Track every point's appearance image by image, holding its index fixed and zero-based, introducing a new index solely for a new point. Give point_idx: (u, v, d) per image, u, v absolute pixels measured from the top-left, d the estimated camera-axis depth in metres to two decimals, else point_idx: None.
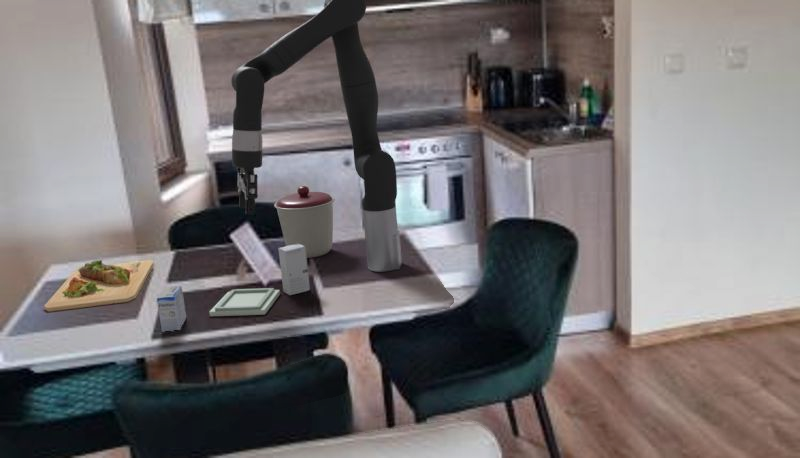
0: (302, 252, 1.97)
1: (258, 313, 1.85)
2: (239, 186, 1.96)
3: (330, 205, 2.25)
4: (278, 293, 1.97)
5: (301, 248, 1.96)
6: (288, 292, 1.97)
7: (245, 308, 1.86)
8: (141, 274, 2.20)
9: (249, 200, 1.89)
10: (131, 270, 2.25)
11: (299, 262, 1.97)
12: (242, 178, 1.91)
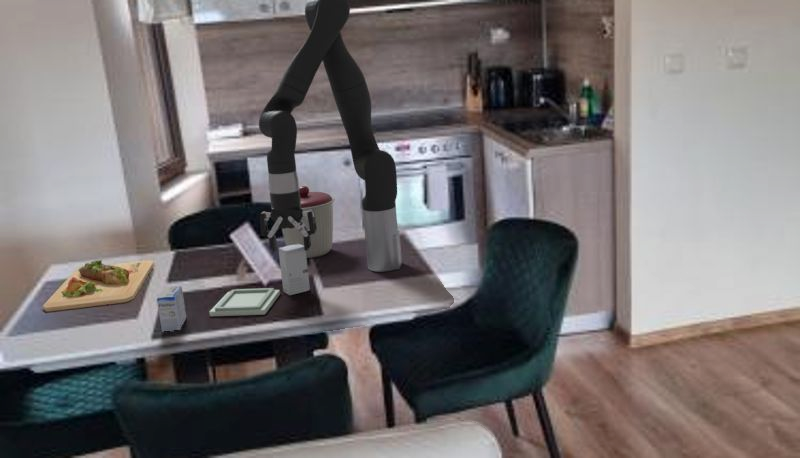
0: (302, 252, 1.97)
1: (258, 313, 1.85)
2: (276, 230, 1.94)
3: (330, 205, 2.25)
4: (278, 293, 1.97)
5: (301, 248, 1.96)
6: (288, 292, 1.97)
7: (245, 308, 1.86)
8: (140, 275, 2.20)
9: (309, 236, 1.95)
10: (130, 270, 2.25)
11: (299, 262, 1.97)
12: (294, 218, 1.93)
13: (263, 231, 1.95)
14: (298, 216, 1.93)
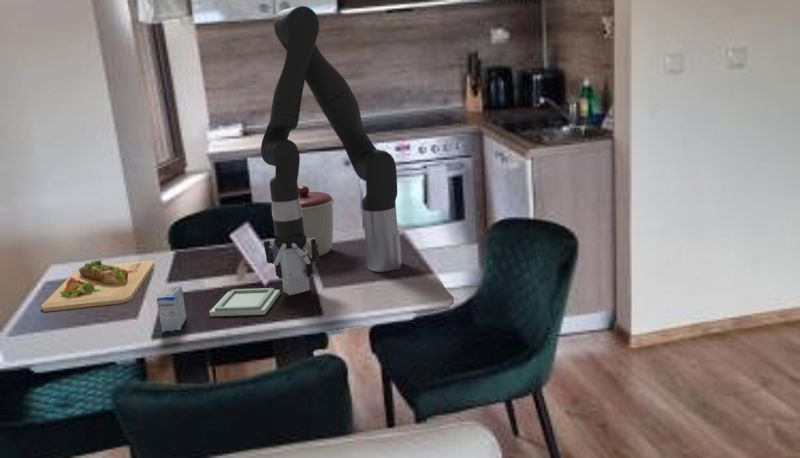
0: None
1: (258, 313, 1.85)
2: None
3: (330, 205, 2.25)
4: (278, 293, 1.97)
5: None
6: (288, 292, 1.97)
7: (245, 308, 1.86)
8: (139, 275, 2.19)
9: (311, 263, 1.97)
10: (130, 270, 2.25)
11: (299, 262, 1.97)
12: (297, 245, 1.95)
13: (269, 259, 1.97)
14: (302, 243, 1.95)
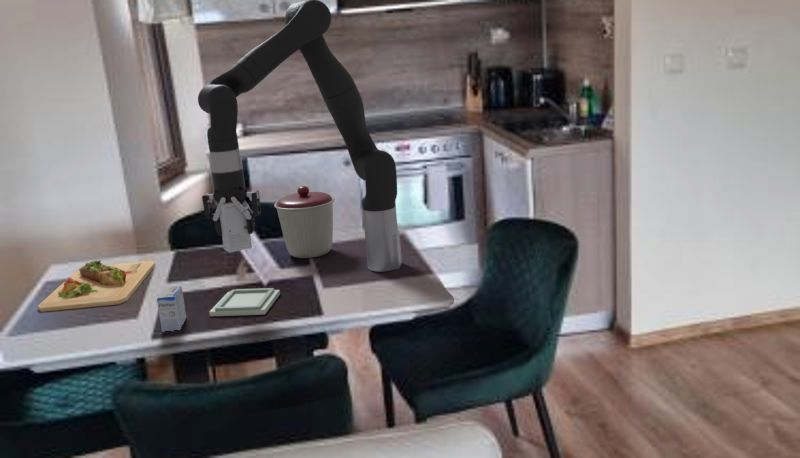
0: None
1: (258, 313, 1.85)
2: (220, 212, 1.85)
3: (330, 205, 2.25)
4: (278, 293, 1.97)
5: None
6: (228, 249, 1.86)
7: (245, 308, 1.86)
8: (138, 276, 2.19)
9: (253, 218, 1.86)
10: (130, 270, 2.24)
11: (240, 217, 1.85)
12: (237, 199, 1.84)
13: (208, 214, 1.86)
14: (242, 196, 1.84)
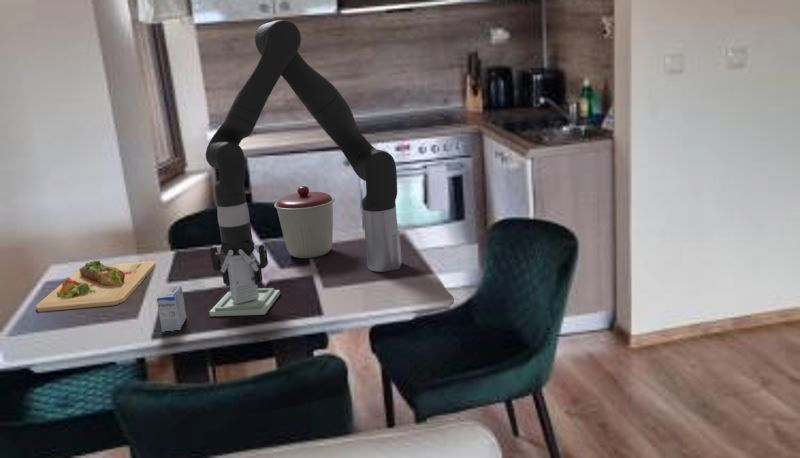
0: None
1: (258, 313, 1.85)
2: None
3: (330, 205, 2.25)
4: (278, 293, 1.97)
5: None
6: (236, 300, 1.89)
7: (245, 308, 1.86)
8: (137, 276, 2.18)
9: (260, 270, 1.89)
10: (129, 271, 2.24)
11: (247, 269, 1.89)
12: (244, 252, 1.87)
13: (216, 266, 1.89)
14: (249, 249, 1.87)
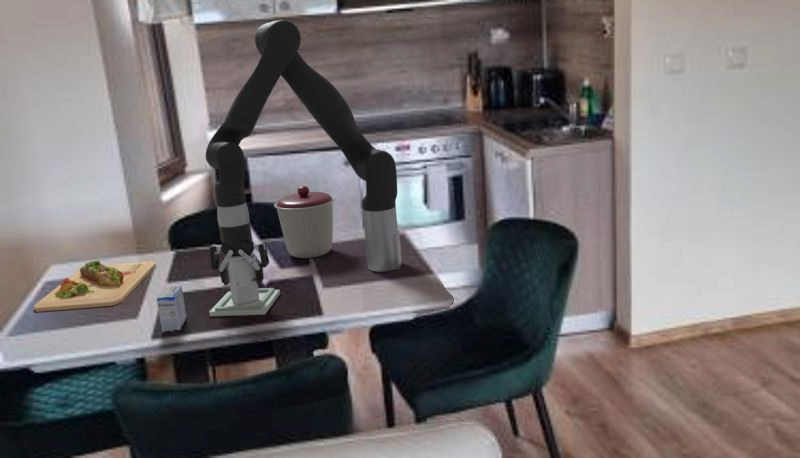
0: None
1: (258, 313, 1.85)
2: (227, 263, 1.89)
3: (330, 205, 2.25)
4: (278, 293, 1.97)
5: None
6: (236, 302, 1.90)
7: (245, 308, 1.86)
8: (136, 277, 2.18)
9: (261, 269, 1.89)
10: (129, 271, 2.24)
11: (248, 270, 1.89)
12: (244, 251, 1.87)
13: (214, 265, 1.89)
14: (249, 249, 1.87)
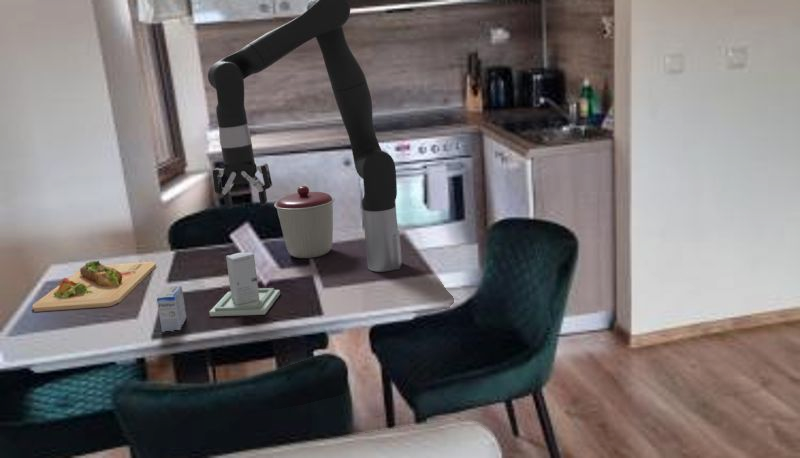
0: (251, 260, 1.89)
1: (258, 313, 1.85)
2: (230, 186, 1.90)
3: (330, 205, 2.25)
4: (278, 293, 1.97)
5: (249, 256, 1.89)
6: (236, 302, 1.90)
7: (245, 308, 1.86)
8: (135, 277, 2.18)
9: (264, 191, 1.91)
10: (129, 271, 2.23)
11: (248, 270, 1.89)
12: (247, 173, 1.89)
13: (217, 188, 1.91)
14: (252, 171, 1.89)
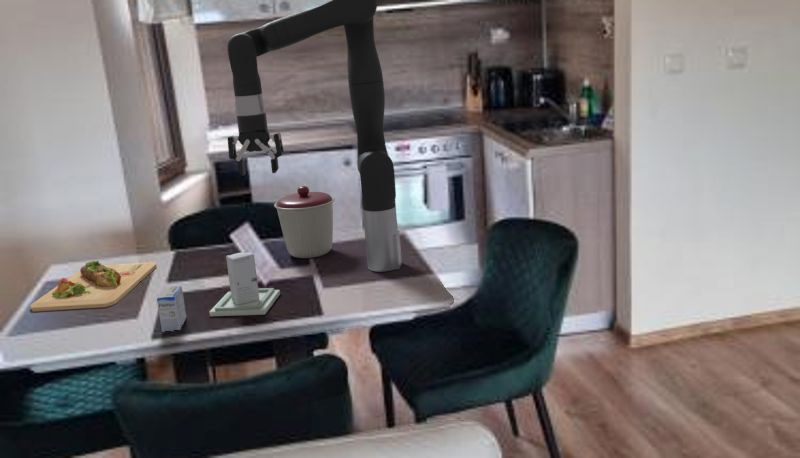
0: (251, 260, 1.89)
1: (258, 313, 1.85)
2: (244, 153, 1.99)
3: (330, 205, 2.25)
4: (278, 293, 1.97)
5: (249, 256, 1.89)
6: (236, 302, 1.90)
7: (245, 308, 1.86)
8: (134, 278, 2.17)
9: (276, 158, 2.00)
10: (128, 272, 2.23)
11: (248, 270, 1.89)
12: (260, 141, 1.98)
13: (231, 155, 2.00)
14: (265, 139, 1.98)
